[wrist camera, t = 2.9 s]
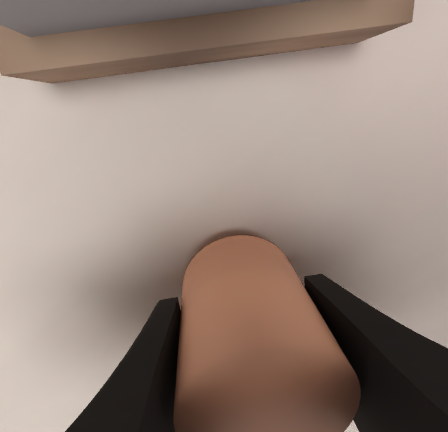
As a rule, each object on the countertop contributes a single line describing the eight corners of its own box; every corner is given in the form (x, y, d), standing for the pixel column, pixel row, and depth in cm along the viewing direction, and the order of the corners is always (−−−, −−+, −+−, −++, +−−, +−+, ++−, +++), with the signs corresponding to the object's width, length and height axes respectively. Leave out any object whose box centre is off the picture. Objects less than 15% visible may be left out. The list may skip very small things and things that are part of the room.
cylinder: (290, 227, 10) (367, 325, 6) (294, 318, 12) (355, 452, 7) (172, 245, 10) (153, 361, 6) (192, 336, 12) (191, 484, 7)
